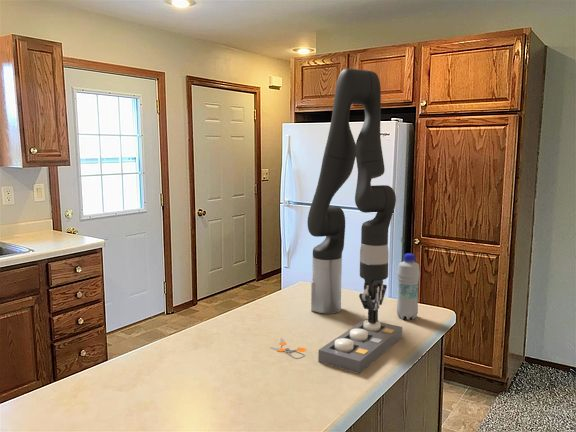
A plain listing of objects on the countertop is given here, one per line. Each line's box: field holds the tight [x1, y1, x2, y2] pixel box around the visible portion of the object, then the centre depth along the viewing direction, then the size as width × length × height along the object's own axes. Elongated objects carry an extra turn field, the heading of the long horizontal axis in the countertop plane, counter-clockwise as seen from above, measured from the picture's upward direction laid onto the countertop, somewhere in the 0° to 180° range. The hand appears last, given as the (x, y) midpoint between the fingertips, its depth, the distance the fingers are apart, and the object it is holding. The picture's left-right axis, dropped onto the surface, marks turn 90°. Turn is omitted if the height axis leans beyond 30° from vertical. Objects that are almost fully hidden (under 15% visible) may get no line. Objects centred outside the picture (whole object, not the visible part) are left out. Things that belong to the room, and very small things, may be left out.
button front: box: [335, 338, 354, 354], centre depth 118 cm, size 5×5×2 cm
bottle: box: [396, 252, 421, 320], centre depth 146 cm, size 7×7×20 cm
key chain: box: [269, 337, 307, 360], centre depth 124 cm, size 13×7×1 cm, turn 41°
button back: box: [363, 319, 381, 333], centre depth 131 cm, size 5×5×2 cm
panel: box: [317, 318, 403, 374], centre depth 124 cm, size 26×11×3 cm, turn 145°
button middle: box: [350, 329, 368, 343], centre depth 124 cm, size 5×5×2 cm
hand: (372, 322), depth 130 cm, fingers closed
